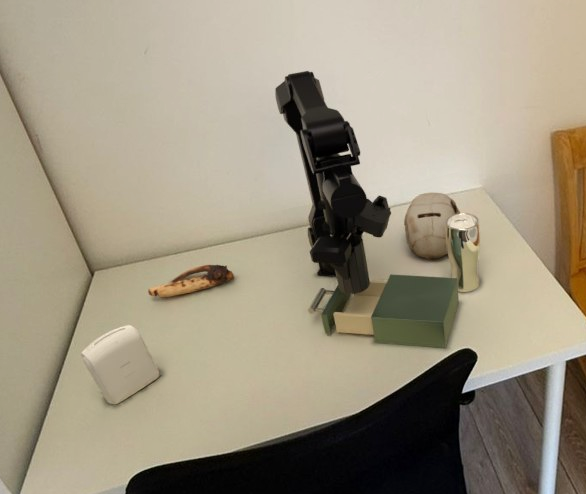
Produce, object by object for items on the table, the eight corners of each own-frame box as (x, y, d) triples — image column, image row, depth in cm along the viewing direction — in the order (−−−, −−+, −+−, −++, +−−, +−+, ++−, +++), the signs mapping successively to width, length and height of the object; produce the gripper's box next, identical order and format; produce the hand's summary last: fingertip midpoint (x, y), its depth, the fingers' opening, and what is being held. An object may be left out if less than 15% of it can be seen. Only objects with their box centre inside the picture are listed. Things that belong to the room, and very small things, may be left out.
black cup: (334, 293, 118) (325, 249, 112) (344, 275, 122) (336, 232, 116) (364, 294, 116) (356, 250, 110) (373, 277, 121) (366, 233, 115)
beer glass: (479, 294, 130) (476, 230, 121) (445, 292, 131) (441, 229, 122) (483, 275, 135) (481, 212, 126) (451, 274, 137) (447, 211, 127)
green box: (375, 342, 121) (370, 317, 117) (393, 299, 131) (390, 274, 127) (445, 348, 118) (443, 322, 114) (458, 303, 128) (457, 278, 124)
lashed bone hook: (232, 267, 146) (151, 286, 142) (227, 249, 143) (144, 268, 139) (237, 287, 139) (151, 307, 135) (231, 268, 136) (144, 288, 132)
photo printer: (113, 409, 112) (84, 356, 104) (101, 398, 114) (71, 346, 106) (164, 376, 117) (140, 324, 110) (152, 367, 120) (127, 315, 112)
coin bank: (441, 217, 156) (439, 169, 146) (482, 252, 145) (483, 203, 136) (386, 240, 150) (380, 191, 141) (424, 278, 140) (421, 229, 130)
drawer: (305, 332, 123) (300, 313, 120) (327, 293, 133) (323, 275, 130) (388, 338, 120) (385, 319, 117) (404, 298, 130) (402, 279, 127)
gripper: (367, 220, 98) (379, 301, 108) (396, 169, 112) (405, 245, 122) (300, 218, 101) (318, 298, 111) (337, 168, 115) (350, 243, 125)
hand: (351, 270), depth 117 cm, fingers closed on black cup, 6 cm apart
